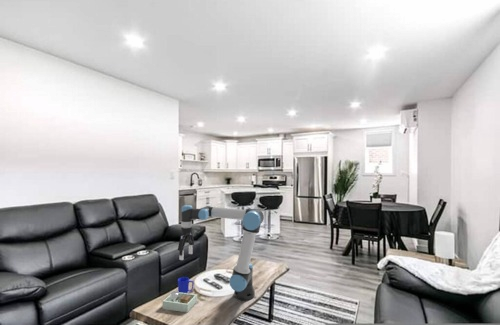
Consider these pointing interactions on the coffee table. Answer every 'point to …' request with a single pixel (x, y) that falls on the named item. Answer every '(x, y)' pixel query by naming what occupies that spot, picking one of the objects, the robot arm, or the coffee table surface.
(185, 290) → the mug
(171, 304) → the tote
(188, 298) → the walnut block
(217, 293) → the coffee table surface
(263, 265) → the coffee table surface
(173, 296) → the canister
